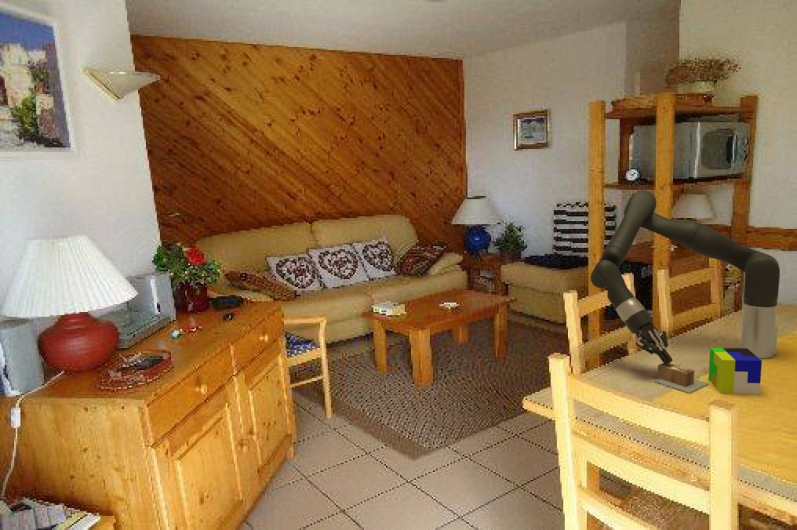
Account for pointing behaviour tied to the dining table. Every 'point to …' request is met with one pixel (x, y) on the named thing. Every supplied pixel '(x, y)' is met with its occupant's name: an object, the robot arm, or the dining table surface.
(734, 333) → the dining table surface
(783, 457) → the dining table surface
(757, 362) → the puzzle toy
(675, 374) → the walnut block
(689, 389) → the felt mat
